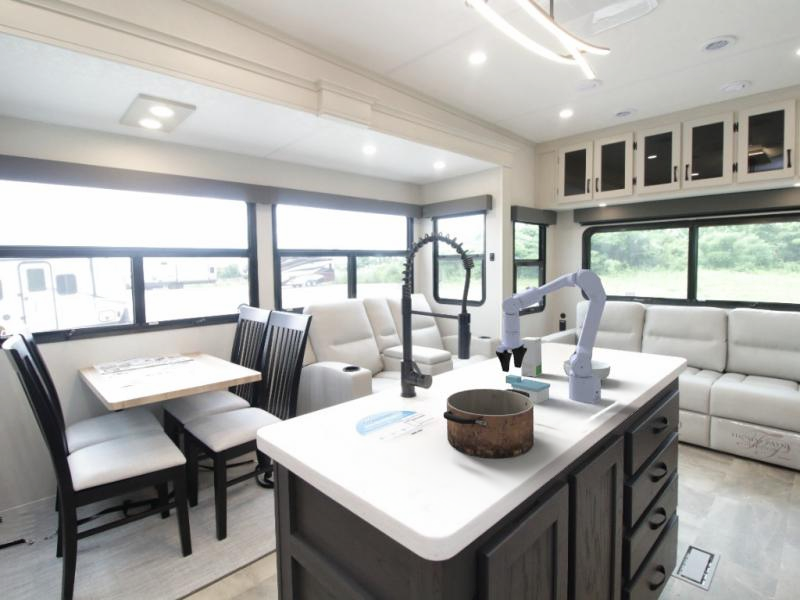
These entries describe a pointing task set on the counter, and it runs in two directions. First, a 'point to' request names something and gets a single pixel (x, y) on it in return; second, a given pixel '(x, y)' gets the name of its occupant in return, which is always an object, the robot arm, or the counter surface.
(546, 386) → the lid
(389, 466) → the counter surface
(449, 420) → the cooking pot
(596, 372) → the cereal bowl
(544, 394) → the tub
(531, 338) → the skincare box
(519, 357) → the robot arm
